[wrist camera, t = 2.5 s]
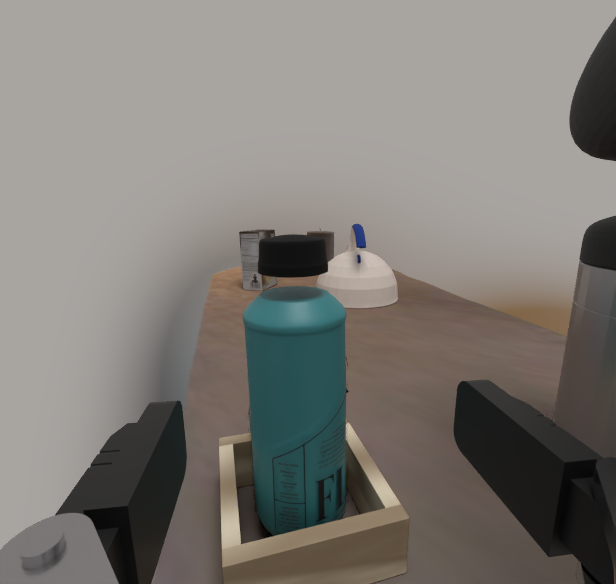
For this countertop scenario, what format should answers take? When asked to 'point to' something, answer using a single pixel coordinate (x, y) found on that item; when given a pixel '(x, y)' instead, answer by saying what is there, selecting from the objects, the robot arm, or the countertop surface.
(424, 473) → the countertop surface
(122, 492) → the robot arm
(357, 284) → the kettle
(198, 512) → the countertop surface
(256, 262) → the coffee box
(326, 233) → the pillar candle
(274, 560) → the rectangular wooden frame
